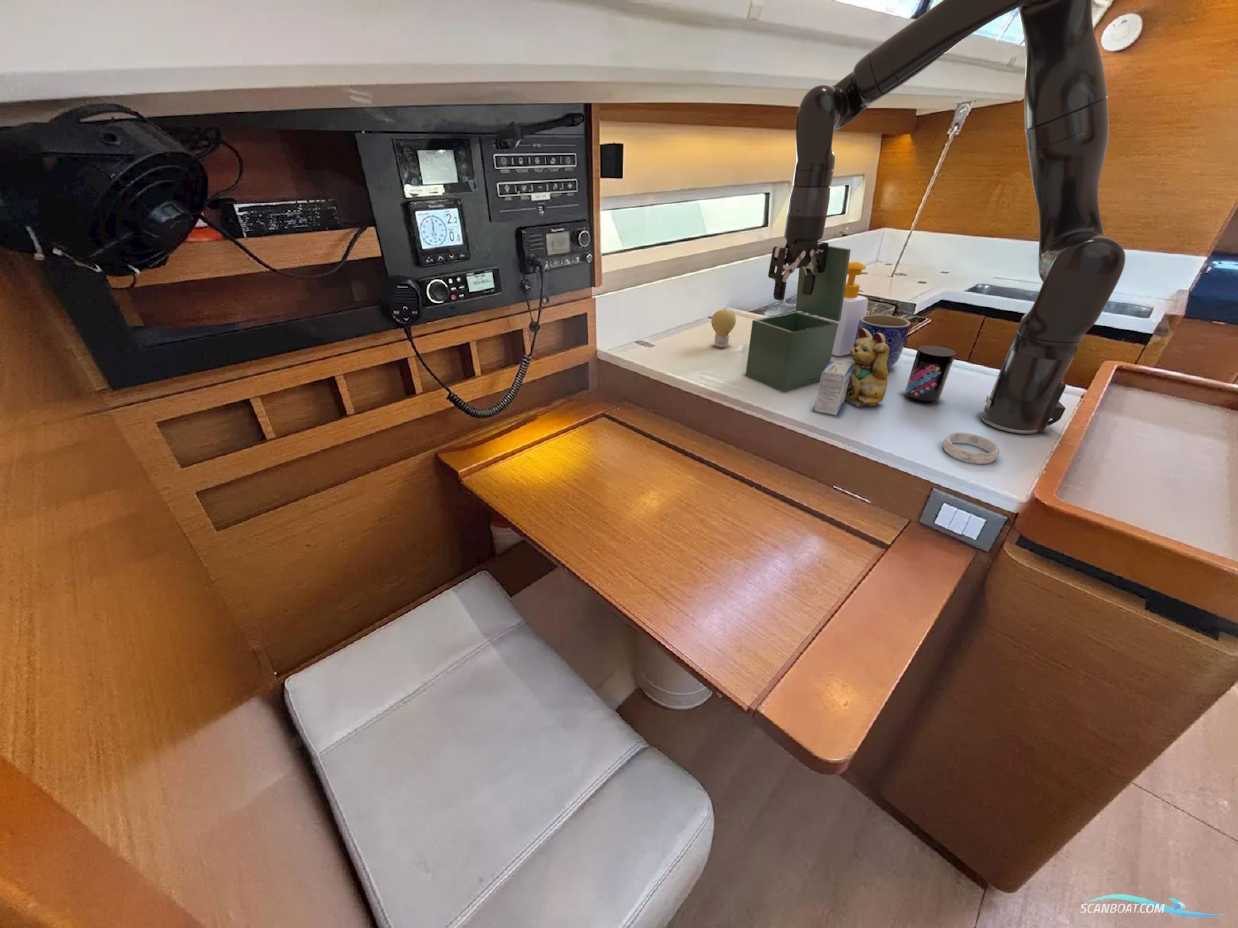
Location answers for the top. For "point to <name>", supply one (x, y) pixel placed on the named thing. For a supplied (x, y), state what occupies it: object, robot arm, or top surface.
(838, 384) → the medicine box
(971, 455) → the ring
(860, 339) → the decorative figurine
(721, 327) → the light bulb
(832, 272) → the green square lid
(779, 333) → the tin
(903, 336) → the planter
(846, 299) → the soap bottle
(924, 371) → the supplement container
